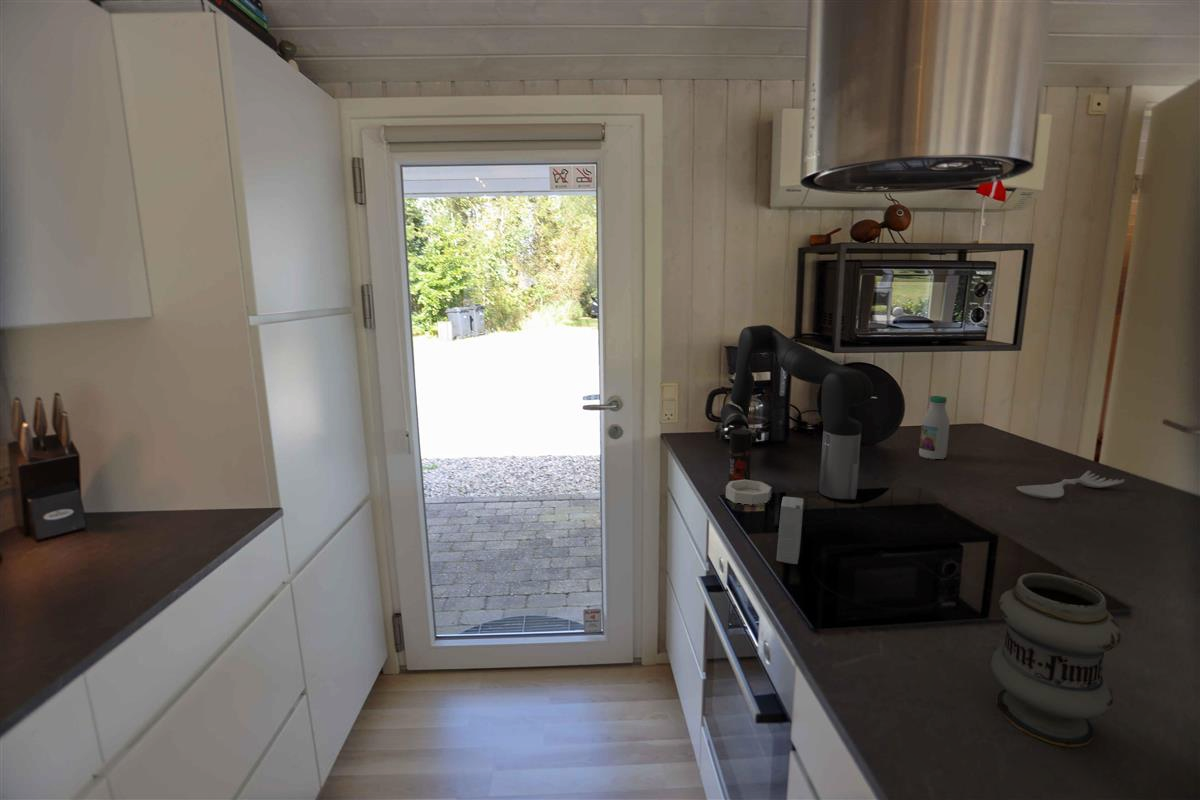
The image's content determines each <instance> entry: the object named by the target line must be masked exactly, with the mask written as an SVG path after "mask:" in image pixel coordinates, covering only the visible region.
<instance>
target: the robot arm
mask: <svg viewBox="0 0 1200 800" xmlns="http://www.w3.org/2000/svg"><path fill="white" fill-rule="evenodd" d="M736 353H737V354H736V366H735V367H736V368H735V375H734V380H733V384H732V388H731V392H730V396H729V397H730V398H729V399H730V401H731V403H726V404H724V405H723V406H722V407H721V411H720V414H719V415H720V421H721V422H722V423H723V424H724V428H722V427H721V426H719V425H716V426H715V428H714V438H715V439H718V438H720V440H721V441H722V442H726V439H727V440H728V439H729V440H730V431H731V430H735V429H744V430H749V431H751V432H752V441H751V444H754V443H755V442H757V440H758V441H761V440H763V439H762V434H763V431H762V430H761V427H755V428H754V429H752V428H750V426H749V425H750V424H749V423H748V421H747V418H748V414H749V407H750V408H751V401H752V397H753V392H754V391H755V385H756V384H755V378H754V374H753V372H752V370H751V366H750V361H751V358H752V356H754V355H761V354H771V355H774V356H776V357H777V359H778V360H777V361H778V365H779V367H780V368H781V369H782V370H783V371H784V372H785V373H786V374H788V375H791V376H792V377H794V378H795V379H797V380H800V381H802V382H806V383H809V384H816V385H820V386H821V412H820V413H821V421H822V425H823V432H822V440H821V442H822V443H821V444H822V446H821V460H820V473H819V484H818V485H819V486H818V487H819V488H818V489H819V491H818V492H819V494H821V495H822V496H824V497H828V498H830V499H837V500H857V492H858V481H859V469H860V468H859V467H860V451H861V438H862V423H861V422H860V421H859V420H857V419H855V418H851V417H850V416H849V407H857V406H860V405H861V406H862V405H864V404H866V403H868V402H869V401H870V400H871V399H872V398H873V395H874V385H873V383H872V380H871V379H870V377H869V376H868V375H867V374H865V372H863V371H860V370H858V369H855V368H852V367H849V366H847V365H844V364H841V363H838V362H836V361H834V360H832V359H831V358H828V357H826V356H824V355H823V354H821V353H818V352H817V351H815V350H813V349H811V348H809V347H808V346H805V345H804V344H801V343H800V342H797V341H795V340H793V339H792V338H790V337H787V336H786V335H785V334H783V333H782V332H780V331H779V330H777V329H776V328H774V327H773V326H771V325H768V324H762V325H760V324H759V325H750V326H745V327H744V328H743V329H741V331H740V334H739V337H738V342H737V352H736ZM732 403H733V405H732ZM734 405H738V406H740V407H741V408H742V409H743V412H742V411H741V410H740V409H739V408H738V407H736V406H734Z"/></svg>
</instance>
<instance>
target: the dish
mask: <svg viewBox="0 0 1200 800" xmlns="http://www.w3.org/2000/svg"><path fill="white" fill-rule="evenodd" d="M725 498H726V499H728V500H729V501H731V502H733V503H734V504H737V503H741V504H740V505H744V504H750V505H752V504H759V503H767V502H768V501H769V500H770V501H771V499H772V486H771V485H769V484H767V483H764V482H763V481H759V480H752V479H750V480H737V481H730V482H728V483H727V485H726V486H725ZM770 498H771V499H770ZM770 501H769V502H770ZM769 502H768V503H769ZM750 505H749V506H750Z"/></svg>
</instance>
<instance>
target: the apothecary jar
mask: <svg viewBox="0 0 1200 800" xmlns="http://www.w3.org/2000/svg"><path fill="white" fill-rule="evenodd" d="M1016 582H1017V583H1016V585H1015V586H1014V587H1012V588H1009V589H1007V590H1006V591H1005V592H1003V593H1002V594H1001V596H999V599H998V610H999V613H1000V615H1001V617H1002V619H1003V620H1004V621H1005V622H1006V623H1007V624H1006V634H1005V640H1004V644H1002V645H1000V646H998V647H997V648H996V649H995V650H994V651H993V653H992V655H991V658H990V659H991V660H990V666H991V667H990V668H991V671H992V673H993V676H994V677H995V679H996V680H997V682H998V684H1000V685H1001V686H1002V688H1003V690H1001V691H999V692H998V693H997V694H996V698H995V705H996V707H998V709H1000V710H1001V711H1002V712H1003V713H1004V716H1003V717H1004V718H1005V720H1007V721H1008V722H1009V723H1010V724H1011V725H1012V726H1014V727H1016V729H1018V730H1019V731H1021V732H1023V733H1025V734H1027V735H1029V736H1031V737H1033V738H1036V739H1038V740H1039V741H1043V742H1045V743H1048V744H1051V745H1055V746H1060V747H1064V748H1065V747H1066V748H1067V747H1068V748H1079V747H1083V746H1087V745H1088V744H1090V743H1091V742H1092V741H1093V739H1094V730H1093V729H1094V728H1093V727H1092V725H1091V724H1090V723H1089V722H1090V721H1089V719H1095V718H1098V717H1101V716H1103V715H1104V714H1106V713H1107V712H1108V711H1110V709H1111V707H1112V706H1113V701H1114V695H1113V690H1112V687H1111V685H1110V683H1109V682H1108V680H1107V678H1106V677H1105V676H1104V675H1103V665H1104V656H1105V653H1106V652H1109V651H1111V650H1113V649H1114V648H1116V647H1117V646H1118V645H1119V643H1120V641H1121V638H1122V629H1121V628H1120V625H1119V623H1118V621H1117V620H1116V618H1115V617H1114V616H1113V615H1112V614H1111V613H1110V612H1109V611H1108V610H1107V600H1106V598H1105V595H1104V594H1103V593H1102V592H1100V591H1099V590H1098V589H1096V588H1095V587H1093V586H1092V585H1090V584H1087V583H1085V582H1082V581H1079V580H1077V579H1074V578H1070V577H1066V576H1062V575H1060V574H1053V573H1045V572H1030V573H1029V572H1028V573H1025V574H1022V575H1021V576H1019V578H1018V579H1017V581H1016Z"/></svg>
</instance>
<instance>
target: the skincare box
mask: <svg viewBox="0 0 1200 800" xmlns="http://www.w3.org/2000/svg"><path fill="white" fill-rule="evenodd" d="M781 499H782V500H781V505H780V515H779V524H778V525H779V526H778V536H777V537H778V538H777V547H776V548H777V549H776V559H775V560H776V561H777V562H780V563H786V564H792V565H798V563H799V558H800V550H801V538H802V529H803V528H802V527H803V515H804V513H803V512H804V502H805V501H804V498H802V497H801V498H800V497H793V496H783V497H782V498H781Z"/></svg>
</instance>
